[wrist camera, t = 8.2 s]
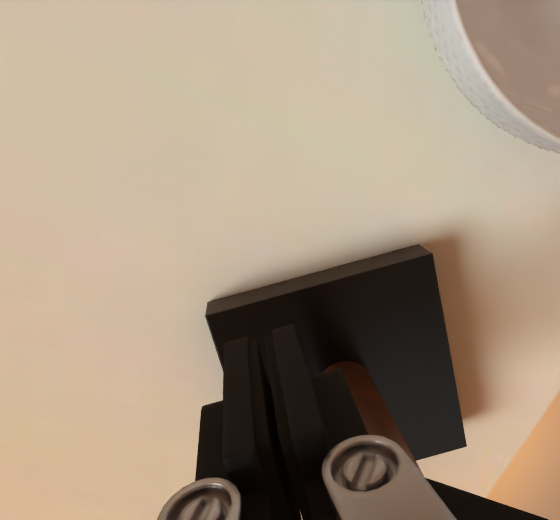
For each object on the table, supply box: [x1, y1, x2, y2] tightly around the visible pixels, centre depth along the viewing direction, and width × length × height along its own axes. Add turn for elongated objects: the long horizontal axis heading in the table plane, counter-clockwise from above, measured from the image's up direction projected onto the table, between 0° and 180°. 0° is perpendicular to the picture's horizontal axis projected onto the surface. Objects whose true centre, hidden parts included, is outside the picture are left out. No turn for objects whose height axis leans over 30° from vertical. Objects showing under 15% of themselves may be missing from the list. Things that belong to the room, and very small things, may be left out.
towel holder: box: [205, 244, 467, 475], centre depth 22 cm, size 18×12×12 cm
